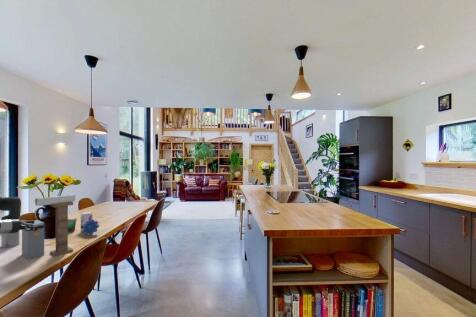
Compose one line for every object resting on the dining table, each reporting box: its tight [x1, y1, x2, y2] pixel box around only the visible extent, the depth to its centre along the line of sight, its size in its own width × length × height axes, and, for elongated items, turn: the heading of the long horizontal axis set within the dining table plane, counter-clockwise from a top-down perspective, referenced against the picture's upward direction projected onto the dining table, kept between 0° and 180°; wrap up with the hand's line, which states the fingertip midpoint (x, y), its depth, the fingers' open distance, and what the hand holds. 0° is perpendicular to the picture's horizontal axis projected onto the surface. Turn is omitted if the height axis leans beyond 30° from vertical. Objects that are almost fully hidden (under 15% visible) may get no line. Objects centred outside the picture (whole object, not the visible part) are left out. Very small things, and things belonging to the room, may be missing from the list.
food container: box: [68, 218, 78, 233], centre depth 202 cm, size 12×6×10 cm, turn 105°
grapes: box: [81, 219, 100, 236], centre depth 194 cm, size 12×7×12 cm, turn 110°
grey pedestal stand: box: [49, 201, 74, 257], centre depth 157 cm, size 8×10×32 cm
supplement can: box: [80, 211, 93, 233], centre depth 203 cm, size 8×8×15 cm
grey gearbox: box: [21, 219, 45, 260], centre depth 153 cm, size 13×8×20 cm, turn 54°
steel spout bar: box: [34, 194, 76, 207], centre depth 154 cm, size 4×20×4 cm, turn 144°
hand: (38, 224), depth 147 cm, fingers open, 8 cm apart
